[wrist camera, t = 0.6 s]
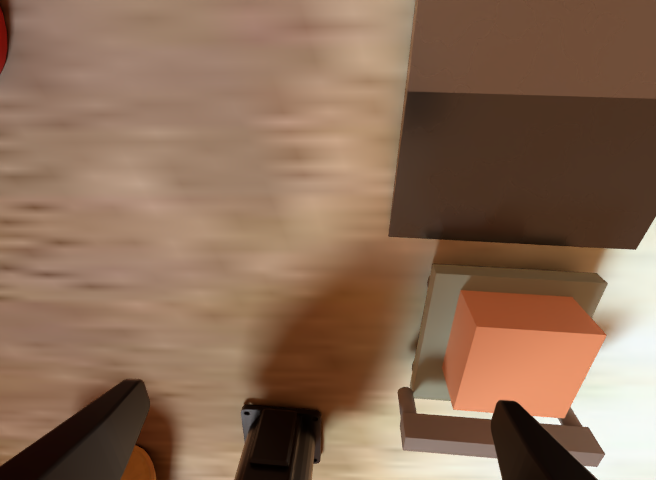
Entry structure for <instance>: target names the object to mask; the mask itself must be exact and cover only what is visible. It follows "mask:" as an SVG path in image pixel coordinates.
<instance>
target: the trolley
mask: <svg viewBox="0 0 656 480" xmlns="http://www.w3.org/2000/svg"><path fill="white" fill-rule="evenodd" d="M607 284H608V283H607V282H606V281H605V280H603V279H602V278H601V277H600V276H599V275H598V274H597V273H584V272H567V271H549V270H531V269H514V268H496V267H478V266H461V265H443V264H432V270H431V275H430V276H429V279H428V284H427V285H428V291H427V297H426V302H425V307H424V313H423V318H422V323H421V329H420V334H419V339H418V345H417V350H416V356H415V360H414V362H413V364H412V377H411V382H410V388H408V387H403V388H400V389H399V390H398V399H399V407H400V415H401V422H400V430H401V438H402V447H403V450H406V451H418V452H430V453H441V454H453V455H465V456H476V457H488V458H497V455H496V450H495V446H494V442H493V438H492V434H491V420H490V419H478V418H465V417H453V416H440V415H428V414H416V408H415V402H414V398H418V399H431V400H444V401H451V403H452V406H453V410H465V411H477V412H490V413H494V410H495V406H496V403H497V402H498V401H499V400H510V401H516V402H517V403H519V404H520V405H521V406H522V407H523V408H524V409H525V410H526V411H527V412H528V413H529V414H530V415H531V416H541V417H553V418H558V419H559V421H560V423H561V425H553V424H541V425H542V426H543V427H544V428H545V429H546V430H547V431H548V432H549V433H550V434H551V435H552V436H553V437H554V438H555V439H556V440H557V441H558V442H559V443H560V444H561V445H562V446H563V447H565V448H566V449H567V450H568V451H569V452H570V453H571V454H572V455H573V456H574V457H575V458H576V459H577V460H578V461H579V462H580V463H581V464H582V465H583V466H593V467H597V466H598V465H599V463H600V461H601V460H602V458H603V457H604V455H605V453H604V452H603V450H602V448H601V447H600V445H599V444H598V442H597V440H596V439H595V437H594V436H593V434H592V432H591V431H590V429H589V428H588V427H582V425H581V423H580V422H579V420H578V419H577V417H576V415H575V414H574V412H573V410H572V409H571V407H570V406H571V404H572V402H573V400H574V398H575V396H576V394H577V393H578V391H579V389H580V387H581V385H582V383H583V381H584V379H585V377H586V375H587V373H588V371H589V369H590V367H591V365H592V363H593V361H594V359H595V357H596V355H597V353H598V351H599V349H600V347H601V345H602V343H603V341H604V340H605V338H606V336H607V335H606V334H605V333H604V332H603V331H602V329H601V328H600V327H599V326H598V325H597V324H596V323H595V322H594V321H593V319H592V316H593V314H594V312H595V310H596V307H597V305H598V303H599V301H600V299H601V297H602V295H603V292H604V290H605V288H606V286H607Z"/></svg>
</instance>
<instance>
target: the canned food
mask: <svg viewBox="0 0 656 480" xmlns="http://www.w3.org/2000/svg"><path fill="white" fill-rule="evenodd" d="M6 54H7V31H6V26H5V21H4V16H3V13H2V10H1V7H0V73H1V71H2V69H3V66H4V64H5V60H6Z"/></svg>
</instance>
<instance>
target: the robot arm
mask: <svg viewBox="0 0 656 480" xmlns="http://www.w3.org/2000/svg"><path fill="white" fill-rule="evenodd" d="M149 408H150V400H149V396H148V393H147V390H146V387H145V384H144V382H143V381H142V380H140V379H126V380H123V381H122V382H120V383H119V384H118V385H116V386H115V387H113V388H112V389H110V390H109V391H107V392H106V393H105V394H103V395H102V396H100V397H99V398H97V399H96V400H95V401H93V402H92V403H90V404H89V405H87V406H86V407H85V408H83V409H82V410H80V411H79V412H77V413H76V414H75V415H73V416H72V417H70V418H69V419H67V420H66V421H65V422H63V423H62V424H60V425H59V426H57V427H56V428H54V429H53V430H52V431H50V432H49V433H47V434H46V435H44V436H43V437H42V438H40V439H39V440H37V441H36V442H34V443H33V444H32V445H30V446H29V447H27V448H26V449H24V450H23V451H22V452H20V453H19V454H17V455H16V456H14V457H13V458H12V459H10V460H9V461H7V462H6V463H4V464H3V465H1V466H0V480H120V479H121V477H122V475H123V473H124V471H125V469H126V466H127V464H128V462H129V459H130V457H131V454H132V451H133V449H134V446H135V444H136V441H137V439H138V436H139V434H140V431H141V429H142V426H143V424H144V421H145V419H146V416H147V414H148V411H149ZM241 418H242V425H243V433H244V440H245V445H244V448H243V452H242V455H241V458H240V462H239V465H238V469H237V472H236V476H235V479H234V480H312V471H313V464H317V463H319V462H320V457H321V413H320V412H319V411H316V410H305V409H293V408H280V407H268V406H256V405H244V406H243V407H242V410H241ZM491 434H492V438H493V442H494V446H495V450H496V455H497V459H498V463H499V467H500V471H501V476H502V480H598V479H597V478H596V477H595V476H594V475H593V474H591V473H590V472H589V471H588V470H587V469H586V468H585V467H584V466H583V465H582V464H581V463H580V462H579V461H578V460H577V459H576V458H575V457H574V456H573V455H572V454H571V453H570V452H569V451H568V450H567V449H566V448H565V447H563V446H562V445H561V444H560V443H559V442H558V441H557V440H556V439H555V438H554V437H553V436H552V435H551V434H550V433H549V432H548V431H547V430H546V429H545V428H544V427H543V426H542V425H541V424H540V423H539V422H538V421H537V420H535V419H534V418H533V417H532V416H531V415H530V414H529V413H528V412H527V411H526V410H525V409H524V408H523V407H522V406H521V405H520V404H519V403H517V402H516V401H510V400H499V401H498V402H497V403H496V406H495V410H494V413H493V416H492V420H491Z"/></svg>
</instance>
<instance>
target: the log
mask: <svg viewBox="0 0 656 480" xmlns="http://www.w3.org/2000/svg"><path fill="white" fill-rule="evenodd" d="M120 480H156V474H155V469H154V466H153V463H152V461H151V459H150V456H149V455H148V454H147V453H146V452H145V451H144V449H142V448H140V447H138V446H136V445H135V446H134V449H133V451H132V454H131V457H130V459H129V462H128V464H127V466H126V469H125V471H124V473H123V475H122V477H121V479H120Z"/></svg>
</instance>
